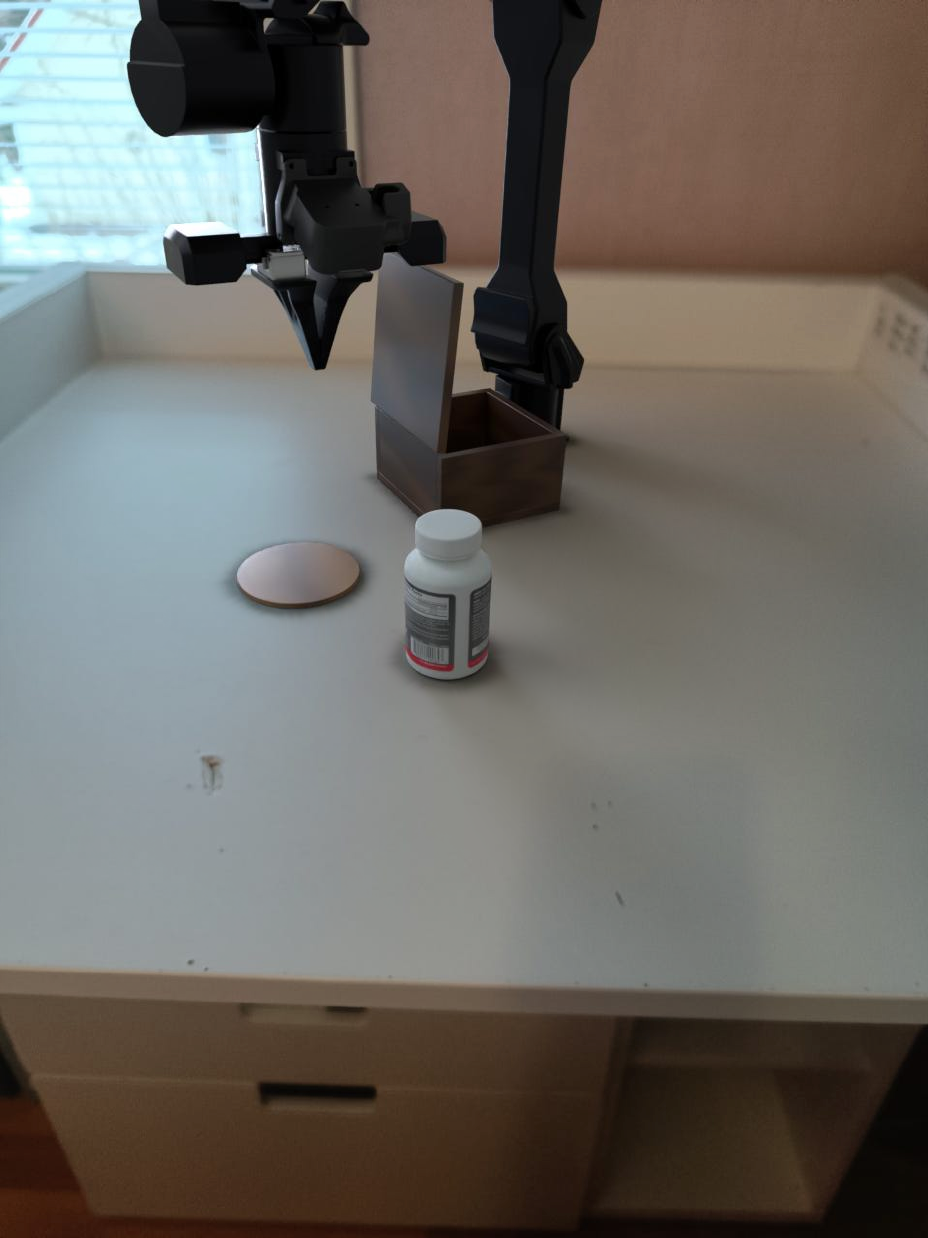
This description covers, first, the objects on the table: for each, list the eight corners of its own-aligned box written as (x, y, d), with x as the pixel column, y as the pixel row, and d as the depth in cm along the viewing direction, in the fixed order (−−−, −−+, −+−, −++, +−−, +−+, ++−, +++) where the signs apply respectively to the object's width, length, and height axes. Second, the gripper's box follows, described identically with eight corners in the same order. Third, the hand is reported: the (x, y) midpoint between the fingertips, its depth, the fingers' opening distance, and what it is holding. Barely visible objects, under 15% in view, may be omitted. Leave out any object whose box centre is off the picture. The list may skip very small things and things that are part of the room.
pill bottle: (465, 626, 60) (470, 497, 55) (502, 669, 56) (511, 534, 51) (392, 645, 58) (389, 512, 53) (425, 691, 54) (425, 553, 49)
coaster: (333, 537, 70) (333, 532, 70) (379, 590, 64) (379, 585, 64) (222, 561, 67) (221, 557, 66) (259, 620, 60) (258, 615, 60)
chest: (486, 456, 85) (489, 387, 81) (559, 509, 76) (567, 434, 72) (376, 477, 80) (374, 405, 76) (440, 537, 71) (441, 458, 67)
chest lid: (388, 247, 70) (379, 247, 69) (464, 282, 61) (454, 282, 60) (378, 400, 76) (370, 401, 76) (446, 452, 67) (437, 453, 67)
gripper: (188, 146, 47) (225, 424, 56) (489, 139, 55) (480, 384, 63) (143, 127, 55) (181, 373, 64) (411, 123, 63) (412, 342, 71)
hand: (318, 368), depth 65 cm, fingers closed
